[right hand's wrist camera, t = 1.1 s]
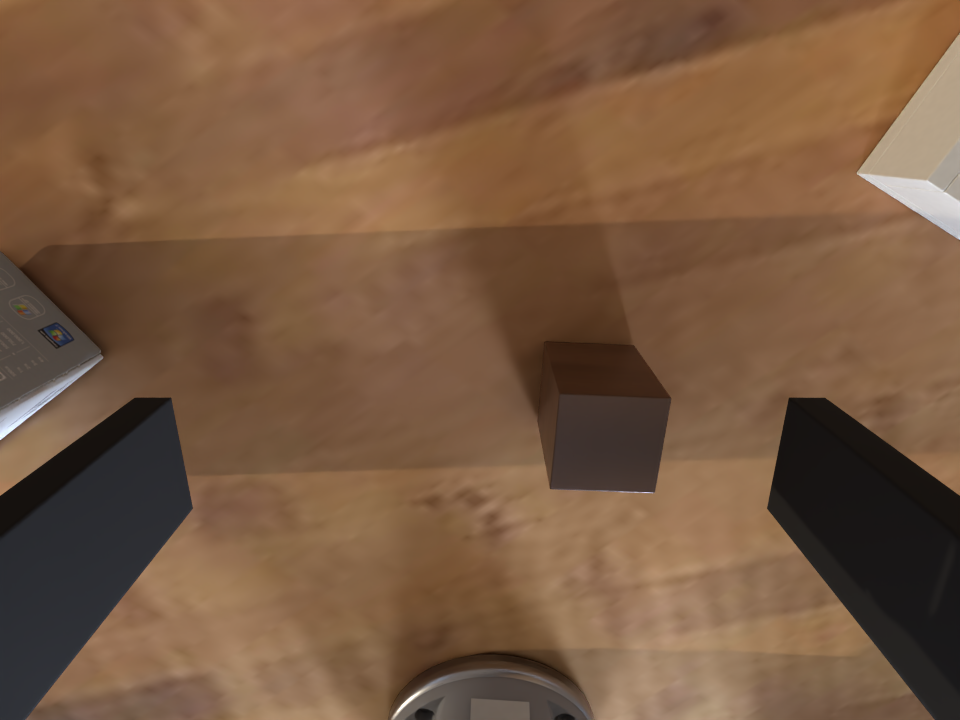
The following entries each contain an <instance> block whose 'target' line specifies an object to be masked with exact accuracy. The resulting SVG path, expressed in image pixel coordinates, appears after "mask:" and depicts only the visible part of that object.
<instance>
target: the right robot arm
mask: <svg viewBox="0 0 960 720" xmlns="http://www.w3.org/2000/svg"><path fill="white" fill-rule="evenodd" d="M192 509H193V507H192V502H191V497H190V491H189V486H188V481H187V476H186V471H185V466H184V461H183V456H182V451H181V446H180V441H179V436H178V430H177V425H176V420H175V415H174V410H173V405H172V400H171V398H134V399H133V400H131V401H130V402H129V403H127V404H126V405H124V406H123V407H122V408H120V409H119V410H118V411H116V412H115V413H113V414H112V415H111V416H109V417H108V418H107V419H105V420H104V421H102V422H101V423H100V424H98V425H97V426H96V427H94V428H93V429H91V430H90V431H89V432H87V433H86V434H85V435H83V436H82V437H80V438H79V439H78V440H76V441H75V442H74V443H72V444H71V445H69V446H68V447H67V448H65V449H64V450H63V451H61V452H60V453H58V454H57V455H56V456H54V457H53V458H52V459H50V460H49V461H48V462H46V463H45V464H43V465H42V466H41V467H39V468H38V469H37V470H35V471H34V472H32V473H31V474H30V475H28V476H27V477H26V478H24V479H23V480H21V481H20V482H19V483H17V484H16V485H15V486H13V487H12V488H10V489H9V490H8V491H6V492H5V493H4V494H2V495H1V496H0V720H25V719H26V718H27V717H28V716H29V714H30V713H31V712H32V711H33V709H34V708H35V707H36V705H37V704H38V703H39V702H40V700H41V699H42V698H43V697H44V695H45V694H46V693H47V692H48V690H49V689H50V688H51V687H52V685H53V684H54V683H55V682H56V680H57V679H58V678H59V677H60V675H61V674H62V673H63V671H64V670H65V669H66V668H67V666H68V665H69V664H70V663H71V661H72V660H73V659H74V658H75V656H76V655H77V654H78V653H79V651H80V650H81V649H82V648H83V646H84V645H85V644H86V642H87V641H88V640H89V639H90V637H91V636H92V635H93V634H94V632H95V631H96V630H97V629H98V627H99V626H100V625H101V624H102V622H103V621H104V620H105V619H106V617H107V616H108V615H109V613H110V612H111V611H112V610H113V608H114V607H115V606H116V605H117V603H118V602H119V601H120V600H121V598H122V597H123V596H124V595H125V593H126V592H127V591H128V590H129V588H130V587H131V586H132V585H133V583H134V582H135V581H136V579H137V578H138V577H139V576H140V574H141V573H142V572H143V571H144V569H145V568H146V567H147V566H148V564H149V563H150V562H151V561H152V559H153V558H154V557H155V556H156V554H157V553H158V552H159V550H160V549H161V548H162V547H163V545H164V544H165V543H166V542H167V540H168V539H169V538H170V537H171V535H172V534H173V533H174V532H175V530H176V529H177V528H178V527H179V525H180V524H181V523H182V522H183V520H184V519H185V518H186V516H187V515H188V514H189V513H190V511H191V510H192ZM767 509H768V510H769V511H770V513H771V514H772V515H773V516H774V518H775V519H776V520H777V522H778V523H779V524H780V525H781V527H782V528H783V529H784V530H785V532H786V533H787V534H788V535H789V537H790V538H791V539H792V540H793V542H794V543H795V544H796V545H797V547H798V548H799V549H800V550H801V552H802V553H803V554H804V556H805V557H806V558H807V559H808V561H809V562H810V563H811V564H812V566H813V567H814V568H815V569H816V571H817V572H818V573H819V574H820V576H821V577H822V578H823V579H824V581H825V582H826V583H827V585H828V586H829V587H830V588H831V590H832V591H833V592H834V593H835V595H836V596H837V597H838V598H839V600H840V601H841V602H842V603H843V605H844V606H845V607H846V608H847V610H848V611H849V612H850V613H851V615H852V616H853V617H854V619H855V620H856V621H857V622H858V624H859V625H860V626H861V627H862V629H863V630H864V631H865V632H866V634H867V635H868V636H869V637H870V639H871V640H872V641H873V642H874V644H875V645H876V646H877V648H878V649H879V650H880V651H881V653H882V654H883V655H884V656H885V658H886V659H887V660H888V661H889V663H890V664H891V665H892V666H893V668H894V669H895V670H896V671H897V673H898V674H899V675H900V677H901V678H902V679H903V680H904V682H905V683H906V684H907V685H908V687H909V688H910V689H911V690H912V692H913V693H914V694H915V695H916V697H917V698H918V699H919V700H920V702H921V703H922V704H923V705H924V707H925V708H926V709H927V711H928V712H929V713H930V714H931V716H932V717H933V718H934V719H935V720H960V496H959V495H958V494H956V493H955V492H954V491H952V490H951V489H950V488H948V487H947V486H945V485H944V484H943V483H941V482H940V481H939V480H937V479H936V478H934V477H933V476H932V475H930V474H929V473H928V472H926V471H925V470H923V469H922V468H921V467H919V466H918V465H917V464H915V463H914V462H912V461H911V460H910V459H908V458H907V457H906V456H904V455H903V454H902V453H900V452H899V451H897V450H896V449H895V448H893V447H892V446H891V445H889V444H888V443H886V442H885V441H884V440H882V439H881V438H880V437H878V436H877V435H875V434H874V433H873V432H871V431H870V430H869V429H867V428H866V427H864V426H863V425H862V424H860V423H859V422H858V421H856V420H855V419H853V418H852V417H851V416H849V415H848V414H847V413H845V412H844V411H842V410H841V409H840V408H838V407H837V406H836V405H834V404H833V403H831V402H830V401H829V400H827V399H826V398H789V400H788V405H787V410H786V415H785V420H784V425H783V430H782V436H781V441H780V446H779V451H778V456H777V461H776V466H775V471H774V476H773V481H772V486H771V491H770V497H769V502H768V507H767ZM388 720H594V717H593V713H592V710H591V707H590V705H589V703H588V701H587V699H586V698H585V696H584V695H583V693H582V692H581V691H580V690H579V689H578V687H577V686H576V685H574V684H573V683H572V682H571V681H570V680H569V679H568V678H566V677H565V676H564V675H562V674H560V673H559V672H557V671H556V670H554V669H552V668H550V667H548V666H545V665H543V664H540V663H538V662H535V661H532V660H529V659H524V658H520V657H515V656H508V655H474V656H467V657H462V658H457V659H453V660H450V661H447V662H444V663H441V664H439V665H436V666H434V667H432V668H430V669H428V670H426V671H425V672H423V673H421V674H420V675H418V676H417V677H416V678H414V679H413V680H412V681H411V682H409V683H408V684H407V685H406V686H405V687H404V688H403V690H402V691H401V692H400V693H399V695H398V696H397V698H396V699H395V701H394V703H393V705H392V707H391V710H390V713H389V718H388Z"/></svg>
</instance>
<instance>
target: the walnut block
mask: <svg viewBox="0 0 960 720" xmlns="http://www.w3.org/2000/svg"><path fill="white" fill-rule="evenodd" d="M670 403H671V397H670V396H669V394H668V393H667V392H666V390H665V389H664V387H663V386H662V384H661V383H660V382H659V380H658V379H657V377H656V376H655V375H654V373H653V372H652V370H651V369H650V367H649V366H648V365H647V363H646V362H645V360H644V359H643V358H642V356H641V355H640V353H639V352H638V351H637V349H636V348H635V346H634V345H612V344H587V343H563V342H545V343H544V352H543V364H542V376H541V388H540V399H539V411H538V426H539V432H540V437H541V443H542V448H543V453H544V459H545V464H546V470H547V475H548V480H549V486H550V489H558V490H584V491H609V492H635V493H655V489H656V483H657V477H658V472H659V466H660V460H661V455H662V449H663V443H664V437H665V432H666V426H667V420H668V414H669V409H670Z"/></svg>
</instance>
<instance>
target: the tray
mask: <svg viewBox="0 0 960 720" xmlns="http://www.w3.org/2000/svg"><path fill="white" fill-rule="evenodd" d="M857 174H858V175H859V176H861V177H862V178H864V179H866V180H867V181H869V182H870V183H872V184H873V185H875V186H876V187H878V188H880V189H881V190H883V191H884V192H886V193H887V194H889V195H890V196H892V197H894V198H895V199H897V200H898V201H900V202H901V203H903V204H904V205H906V206H908V207H909V208H911V209H912V210H914V211H915V212H917V213H918V214H920V215H922V216H923V217H925V218H926V219H928V220H929V221H931V222H932V223H934V224H936V225H937V226H939V227H940V228H942V229H943V230H945V231H946V232H948V233H950V234H951V235H953V236H954V237H956V238H957V239H959V240H960V33H959V35H958V36H957V38H956V39H955V40H954V42H953V43H952V44H951V46H950V47H949V48H948V50H947V51H946V52H945V54H944V55H943V56H942V58H941V59H940V61H939V62H938V63H937V65H936V66H935V67H934V69H933V70H932V71H931V73H930V74H929V75H928V77H927V78H926V80H925V81H924V82H923V84H922V85H921V86H920V88H919V89H918V90H917V92H916V93H915V94H914V96H913V97H912V98H911V100H910V101H909V103H908V104H907V105H906V107H905V108H904V109H903V111H902V112H901V113H900V115H899V116H898V117H897V119H896V120H895V122H894V123H893V124H892V126H891V127H890V128H889V130H888V131H887V132H886V134H885V135H884V136H883V138H882V139H881V141H880V142H879V143H878V145H877V146H876V147H875V149H874V150H873V151H872V153H871V154H870V155H869V157H868V158H867V159H866V161H865V162H864V164H863V165H862V166H861V168H860V169H859V170H858V172H857Z"/></svg>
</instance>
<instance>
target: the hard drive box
mask: <svg viewBox="0 0 960 720" xmlns="http://www.w3.org/2000/svg"><path fill="white" fill-rule="evenodd" d="M100 353H101V349H100V348H99V347H97V346H96V345H95V344H94V343H93V342H92V341H91V340H90V338H89V337H88V336H87V335H86V334H84V333H83V332H82V331H81V330H80V329H79V328H78V327H77V326H76V325H75V324H74V323H73V322H72V321H71V320H70V319H69V318H68V317H67V316H66V315H65V314H64V313H63V312H62V311H61V310H60V309H59V308H58V307H57V306H56V305H55V304H54V303H53V302H52V301H51V300H50V299H49V298H48V297H47V296H46V295H45V294H44V293H43V292H42V291H41V290H40V289H39V288H38V287H37V286H36V285H35V284H34V283H33V282H32V281H31V280H30V279H29V278H28V277H27V276H26V275H25V274H24V273H23V272H22V271H21V270H20V269H19V268H17V267H16V266H15V265H14V264H13V263H12V262H11V261H10V260H9V259H8V258H7V257H6V256H5V255H4V254H3V253H2V252H1V251H0V440H1V439H2V438H3V437H5V436H6V435H7V434H9V433H10V432H11V431H12V430H14V429H15V428H16V427H17V426H19V425H20V424H21V423H22V422H24V421H25V420H26V419H27V418H29V417H30V416H31V415H32V414H34V413H35V412H36V411H38V410H39V409H40V408H41V407H43V406H44V405H45V404H46V403H48V402H49V401H50V400H52V399H53V398H54V397H56V396H57V395H58V394H59V393H61V392H62V391H63V390H64V389H66V388H67V387H68V386H69V385H71V384H72V383H73V382H74V381H75V380H77V379H78V378H79V377H80V376H82V375H83V374H84V373H86V372H87V371H88V370H89V369H91V368H92V367H93V366H94V365H96V364H97V363H98V362H99V361H100V360H102V359H103V356H102V355H101V354H100Z"/></svg>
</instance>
